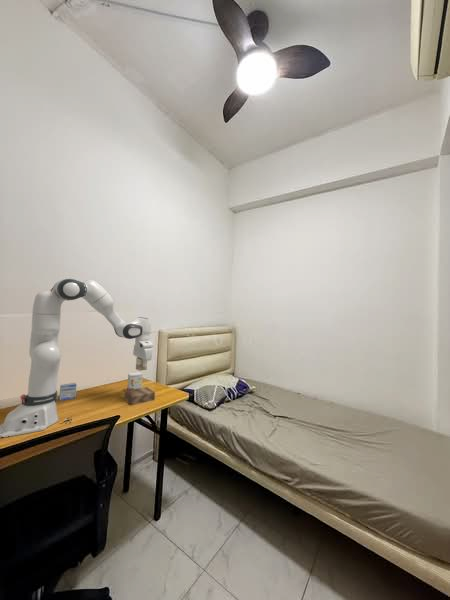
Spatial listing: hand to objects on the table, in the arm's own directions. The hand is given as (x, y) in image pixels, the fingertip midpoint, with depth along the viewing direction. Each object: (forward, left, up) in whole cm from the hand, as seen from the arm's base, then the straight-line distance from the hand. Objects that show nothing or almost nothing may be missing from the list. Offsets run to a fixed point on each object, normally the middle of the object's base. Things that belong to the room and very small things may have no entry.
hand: (141, 365), depth 148 cm
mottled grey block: (0, 0, -3) cm, 3 cm away
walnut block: (0, 0, -22) cm, 22 cm away
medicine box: (-34, +26, -22) cm, 48 cm away
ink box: (+3, +16, -21) cm, 27 cm away
